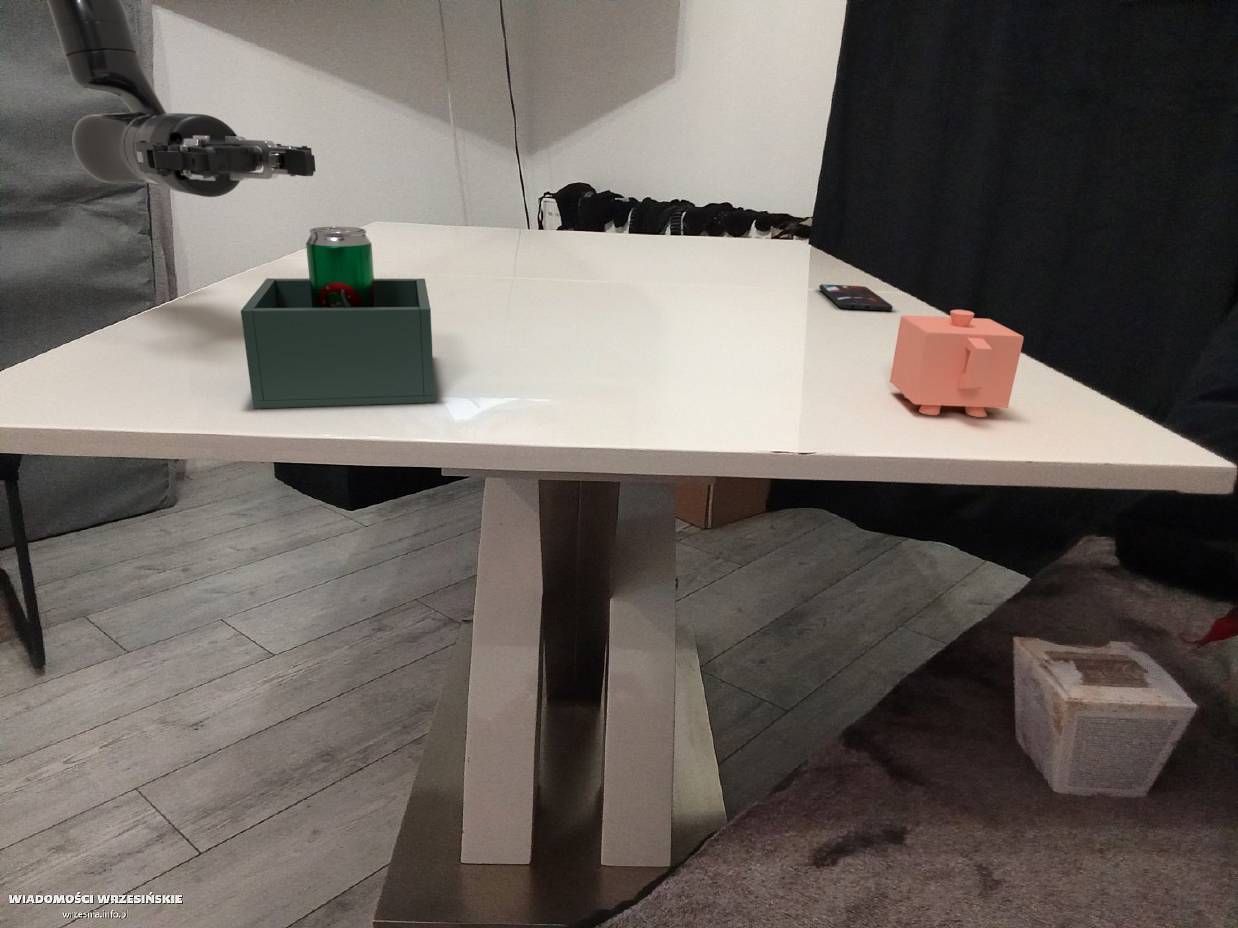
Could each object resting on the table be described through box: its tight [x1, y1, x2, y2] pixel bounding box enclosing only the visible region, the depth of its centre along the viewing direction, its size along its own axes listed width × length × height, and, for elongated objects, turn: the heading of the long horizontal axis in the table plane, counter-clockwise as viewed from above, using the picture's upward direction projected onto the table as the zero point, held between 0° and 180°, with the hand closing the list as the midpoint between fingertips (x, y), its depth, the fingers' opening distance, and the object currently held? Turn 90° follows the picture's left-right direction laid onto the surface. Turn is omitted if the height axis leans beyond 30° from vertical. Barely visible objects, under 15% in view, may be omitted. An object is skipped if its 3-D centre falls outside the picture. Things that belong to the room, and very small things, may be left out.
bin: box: [240, 277, 436, 410], centre depth 70 cm, size 14×14×8 cm
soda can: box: [305, 226, 376, 308], centre depth 69 cm, size 5×5×12 cm
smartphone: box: [818, 283, 894, 311], centre depth 117 cm, size 7×1×15 cm
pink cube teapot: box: [889, 309, 1025, 418], centre depth 71 cm, size 8×12×8 cm, turn 0°
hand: (263, 163), depth 72 cm, fingers open, 8 cm apart
